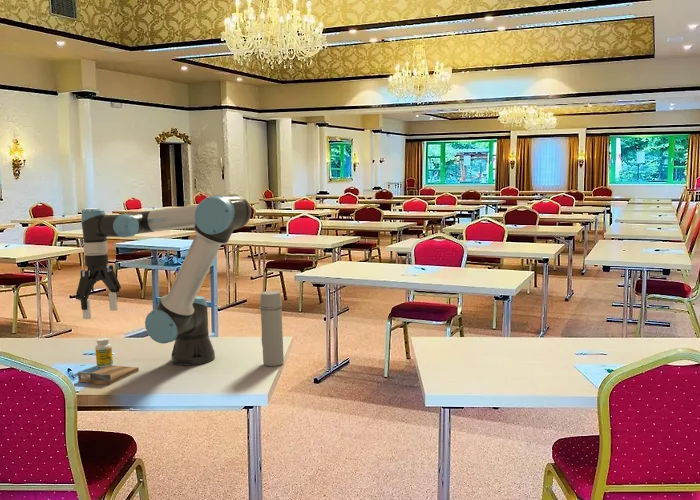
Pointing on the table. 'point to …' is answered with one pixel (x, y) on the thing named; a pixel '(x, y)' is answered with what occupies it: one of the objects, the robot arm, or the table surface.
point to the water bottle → (272, 328)
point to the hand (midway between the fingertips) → (100, 314)
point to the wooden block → (107, 374)
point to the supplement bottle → (103, 353)
